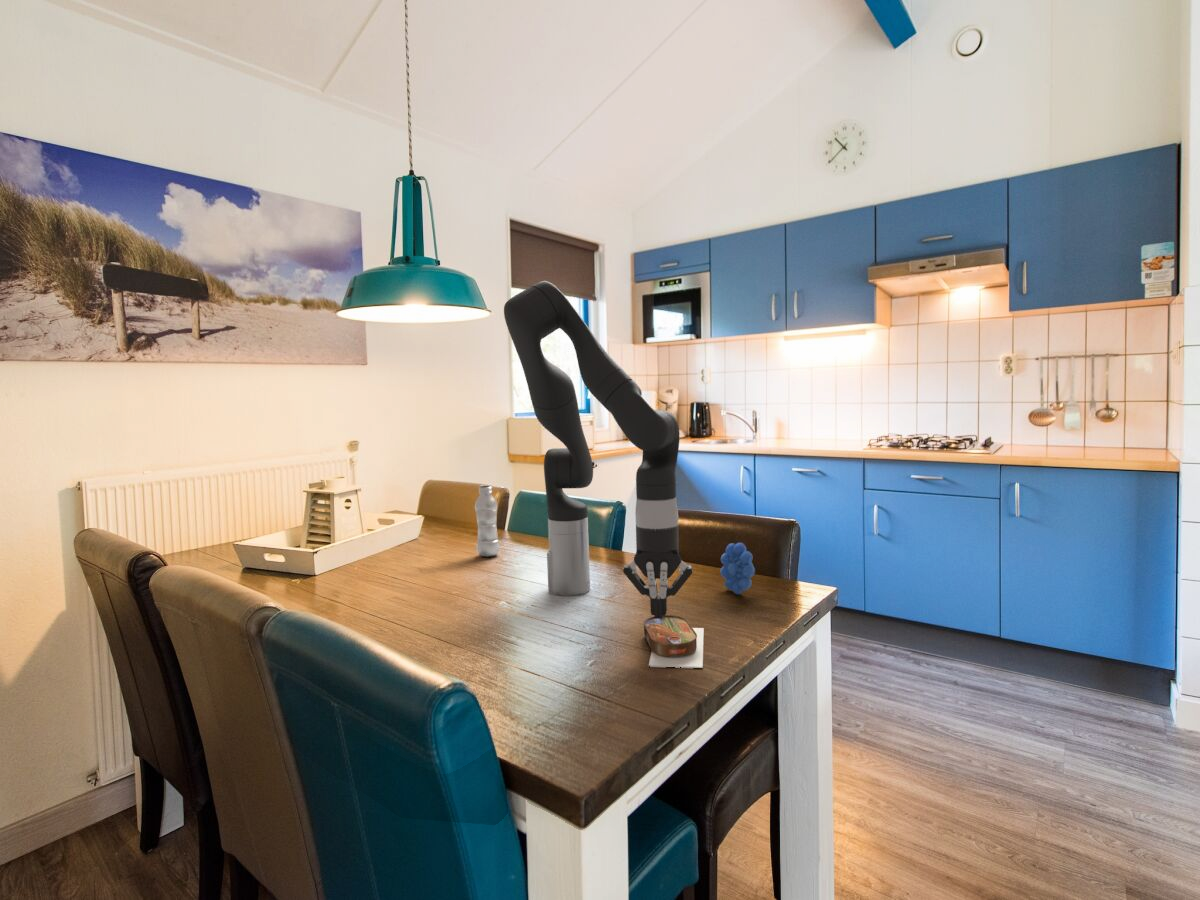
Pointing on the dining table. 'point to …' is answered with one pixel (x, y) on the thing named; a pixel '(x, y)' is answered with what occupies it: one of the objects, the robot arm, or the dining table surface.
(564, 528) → the robot arm
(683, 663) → the mat
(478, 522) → the plastic bottle
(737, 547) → the grapes
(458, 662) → the dining table surface
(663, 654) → the tin
